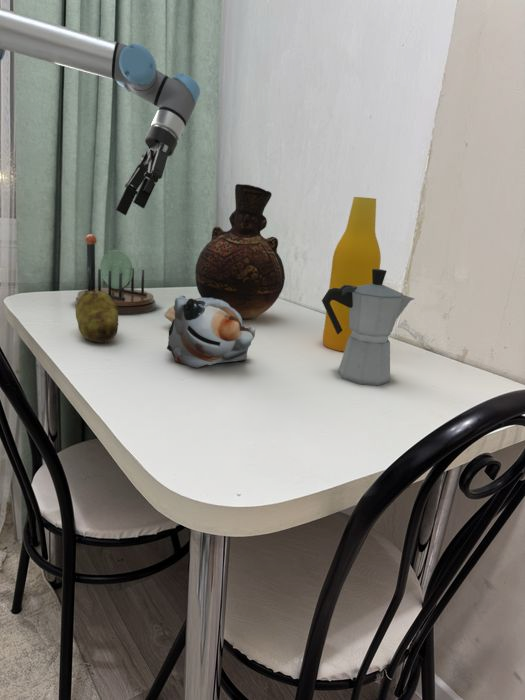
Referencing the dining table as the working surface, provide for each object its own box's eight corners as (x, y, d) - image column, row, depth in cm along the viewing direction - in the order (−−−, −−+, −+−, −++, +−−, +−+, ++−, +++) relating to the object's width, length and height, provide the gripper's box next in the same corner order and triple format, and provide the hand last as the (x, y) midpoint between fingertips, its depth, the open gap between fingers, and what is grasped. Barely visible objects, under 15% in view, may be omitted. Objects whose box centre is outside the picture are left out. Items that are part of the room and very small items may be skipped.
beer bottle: (313, 344, 102) (330, 194, 94) (337, 337, 109) (356, 197, 101) (352, 356, 96) (375, 197, 88) (375, 348, 103) (398, 200, 95)
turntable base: (58, 305, 115) (58, 298, 115) (112, 295, 131) (112, 289, 131) (121, 318, 109) (121, 311, 108) (169, 306, 124) (170, 300, 124)
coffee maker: (393, 370, 90) (410, 268, 84) (408, 388, 81) (428, 276, 76) (309, 364, 89) (322, 261, 84) (317, 381, 80) (331, 268, 75)
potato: (66, 345, 87) (65, 299, 85) (79, 326, 99) (79, 286, 97) (116, 347, 89) (116, 302, 86) (123, 328, 101) (123, 289, 99)
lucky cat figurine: (258, 355, 91) (276, 295, 81) (228, 398, 82) (245, 338, 73) (185, 320, 93) (195, 258, 84) (149, 359, 85) (155, 295, 75)
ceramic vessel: (182, 318, 114) (188, 178, 106) (204, 304, 130) (211, 183, 122) (273, 329, 111) (287, 186, 102) (285, 314, 127) (297, 190, 119)
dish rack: (59, 297, 115) (58, 234, 111) (111, 288, 130) (111, 233, 126) (121, 309, 109) (121, 243, 105) (167, 299, 124) (169, 240, 120)
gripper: (198, 131, 118) (161, 210, 115) (158, 154, 139) (126, 222, 136) (171, 110, 114) (132, 192, 111) (134, 137, 135) (101, 207, 132)
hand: (129, 209), depth 124 cm, fingers open, 13 cm apart
